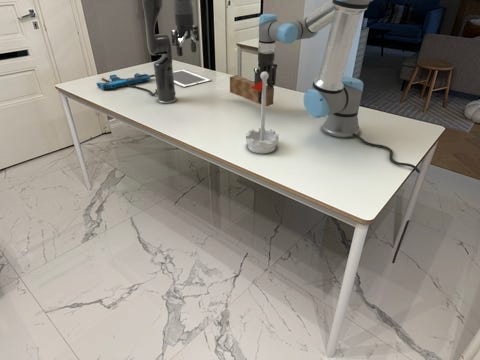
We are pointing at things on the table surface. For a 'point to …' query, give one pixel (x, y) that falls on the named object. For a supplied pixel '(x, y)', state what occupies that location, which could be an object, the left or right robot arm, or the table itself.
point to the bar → (249, 89)
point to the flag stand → (262, 125)
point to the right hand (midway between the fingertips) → (264, 101)
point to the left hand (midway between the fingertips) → (187, 53)
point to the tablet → (187, 78)
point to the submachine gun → (124, 81)
